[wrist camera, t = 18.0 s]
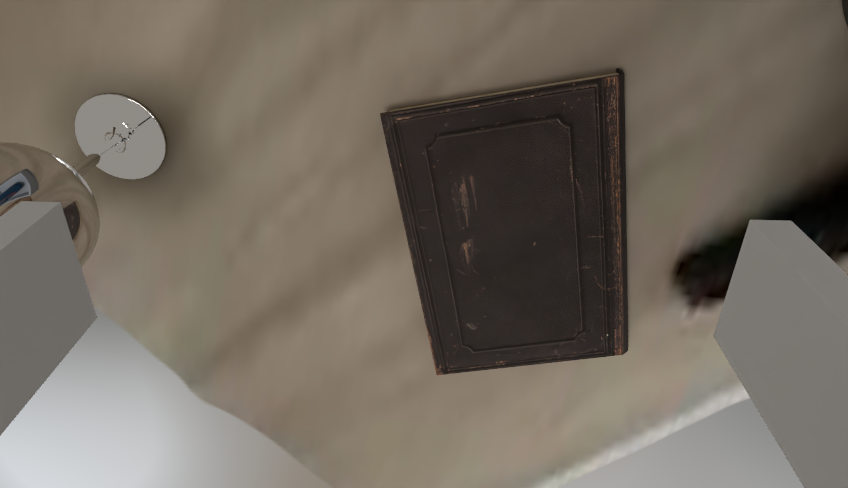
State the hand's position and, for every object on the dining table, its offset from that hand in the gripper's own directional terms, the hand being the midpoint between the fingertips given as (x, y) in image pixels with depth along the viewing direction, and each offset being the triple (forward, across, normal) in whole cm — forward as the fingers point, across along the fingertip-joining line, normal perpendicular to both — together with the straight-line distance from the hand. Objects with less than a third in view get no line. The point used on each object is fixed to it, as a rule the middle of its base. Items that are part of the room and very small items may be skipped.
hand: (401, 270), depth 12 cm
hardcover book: (+31, +7, -16) cm, 36 cm away
